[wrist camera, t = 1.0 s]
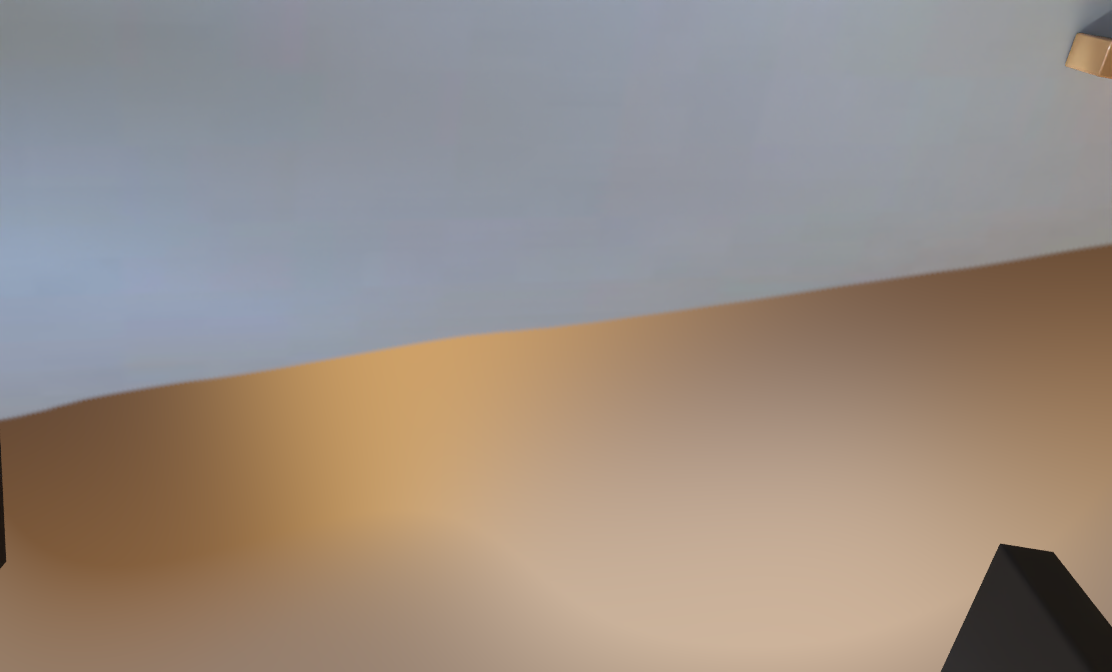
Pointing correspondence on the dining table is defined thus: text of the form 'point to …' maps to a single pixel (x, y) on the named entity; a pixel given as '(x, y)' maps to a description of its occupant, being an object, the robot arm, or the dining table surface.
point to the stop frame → (1091, 55)
